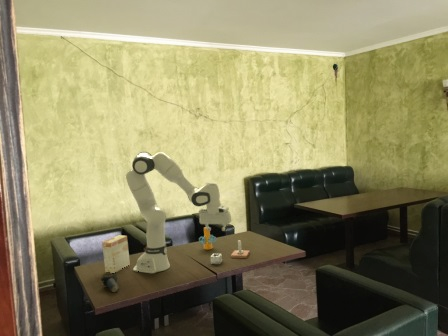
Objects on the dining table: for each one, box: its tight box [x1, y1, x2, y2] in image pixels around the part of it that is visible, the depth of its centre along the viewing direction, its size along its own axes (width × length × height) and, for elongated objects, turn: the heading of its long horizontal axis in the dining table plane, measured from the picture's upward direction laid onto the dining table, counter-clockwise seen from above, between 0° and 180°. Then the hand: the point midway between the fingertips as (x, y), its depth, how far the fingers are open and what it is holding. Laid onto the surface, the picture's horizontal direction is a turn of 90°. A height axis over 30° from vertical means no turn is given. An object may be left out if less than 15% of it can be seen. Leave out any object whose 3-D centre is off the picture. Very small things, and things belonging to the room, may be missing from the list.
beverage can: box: [100, 272, 119, 293], centre depth 201 cm, size 9×8×12 cm
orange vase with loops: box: [198, 226, 217, 251], centre depth 258 cm, size 12×10×15 cm
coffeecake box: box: [101, 234, 131, 274], centre depth 230 cm, size 15×7×20 cm, turn 152°
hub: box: [210, 253, 223, 265], centre depth 229 cm, size 6×6×5 cm
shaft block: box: [230, 240, 250, 259], centre depth 239 cm, size 10×10×10 cm
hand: (216, 230), depth 229 cm, fingers open, 8 cm apart
